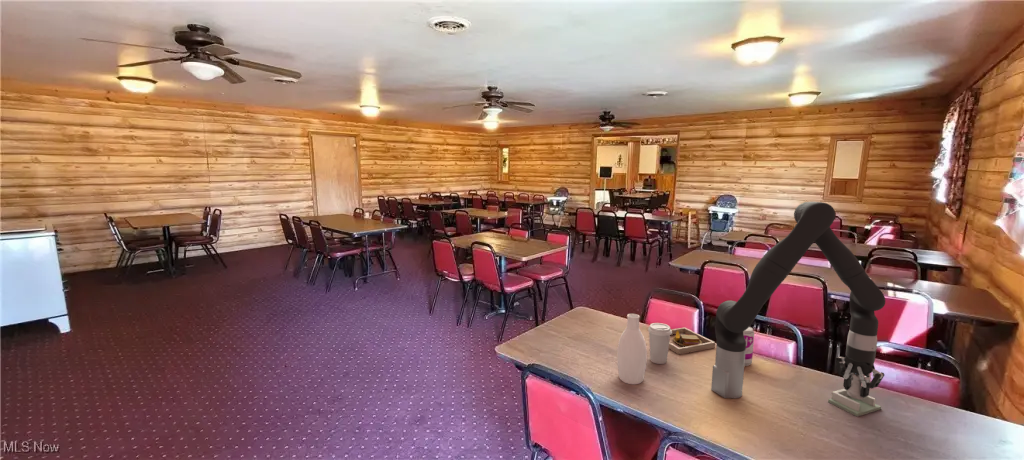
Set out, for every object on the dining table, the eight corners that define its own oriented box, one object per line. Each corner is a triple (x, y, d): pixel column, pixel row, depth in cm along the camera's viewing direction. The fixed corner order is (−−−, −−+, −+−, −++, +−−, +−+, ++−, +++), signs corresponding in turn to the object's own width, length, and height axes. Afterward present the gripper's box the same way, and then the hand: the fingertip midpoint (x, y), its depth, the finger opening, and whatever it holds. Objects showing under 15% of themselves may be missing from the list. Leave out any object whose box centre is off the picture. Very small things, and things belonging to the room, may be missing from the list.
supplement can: (754, 367, 168) (757, 332, 166) (732, 365, 170) (735, 330, 168) (747, 358, 176) (750, 324, 174) (726, 356, 178) (729, 323, 176)
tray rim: (678, 354, 180) (679, 349, 180) (650, 337, 198) (650, 332, 198) (714, 347, 187) (715, 342, 187) (684, 332, 205) (684, 327, 204)
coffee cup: (645, 363, 172) (647, 329, 170) (647, 353, 181) (648, 321, 179) (670, 367, 169) (672, 332, 167) (670, 357, 178) (672, 324, 175)
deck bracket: (857, 416, 135) (858, 406, 134) (828, 402, 143) (829, 392, 143) (880, 409, 139) (882, 399, 138) (851, 395, 147) (852, 386, 147)
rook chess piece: (843, 393, 143) (845, 371, 142) (855, 392, 143) (857, 370, 142) (854, 400, 138) (857, 377, 137) (867, 399, 139) (870, 377, 138)
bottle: (651, 378, 160) (654, 315, 157) (637, 389, 152) (640, 323, 148) (624, 369, 168) (626, 308, 164) (610, 379, 160) (612, 315, 156)
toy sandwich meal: (701, 339, 196) (701, 330, 196) (702, 351, 184) (703, 341, 183) (672, 336, 201) (673, 326, 200) (672, 347, 188) (673, 337, 188)
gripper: (831, 338, 143) (825, 384, 146) (878, 355, 130) (872, 406, 133) (845, 335, 146) (840, 381, 148) (894, 352, 133) (887, 402, 135)
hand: (855, 392), depth 140 cm, fingers closed on rook chess piece, 4 cm apart
